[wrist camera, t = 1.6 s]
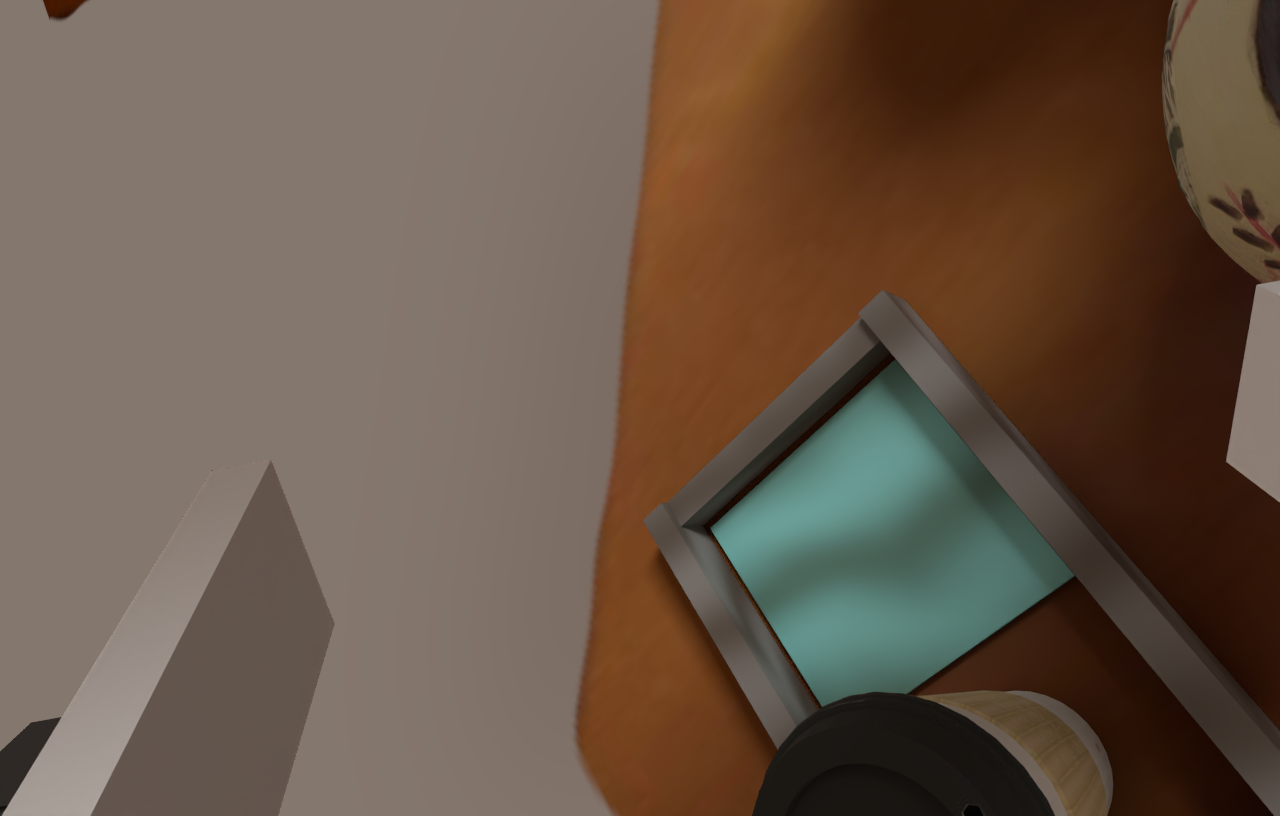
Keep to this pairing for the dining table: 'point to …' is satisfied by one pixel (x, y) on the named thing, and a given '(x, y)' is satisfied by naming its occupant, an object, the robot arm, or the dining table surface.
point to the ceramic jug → (1227, 123)
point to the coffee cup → (940, 759)
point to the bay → (911, 544)
